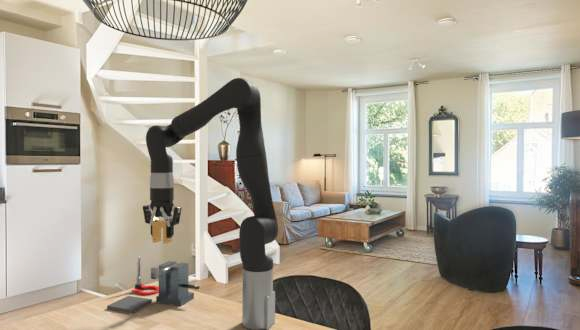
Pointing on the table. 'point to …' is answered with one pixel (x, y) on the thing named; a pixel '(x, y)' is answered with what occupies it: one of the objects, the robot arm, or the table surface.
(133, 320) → the table surface
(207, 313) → the table surface
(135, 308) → the rubber mat
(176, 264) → the vise
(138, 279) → the tow hook
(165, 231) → the ochre slotted block
